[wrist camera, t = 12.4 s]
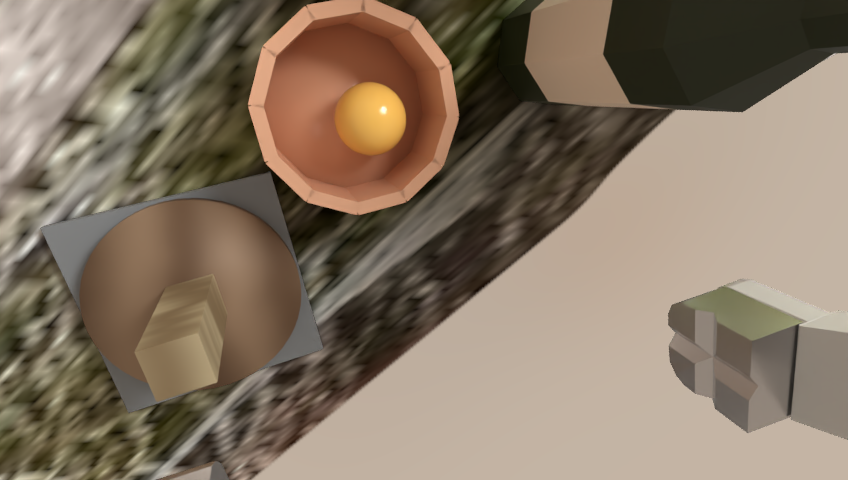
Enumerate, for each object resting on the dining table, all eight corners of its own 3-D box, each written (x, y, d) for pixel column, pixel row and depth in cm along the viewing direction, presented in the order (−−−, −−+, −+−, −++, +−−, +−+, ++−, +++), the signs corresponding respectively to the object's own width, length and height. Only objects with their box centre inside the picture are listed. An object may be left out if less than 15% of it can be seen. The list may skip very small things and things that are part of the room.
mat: (270, 171, 34) (270, 172, 34) (322, 345, 39) (323, 349, 38) (44, 225, 31) (40, 228, 30) (130, 408, 36) (128, 413, 35)
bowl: (408, 0, 34) (437, -18, 28) (440, 171, 38) (470, 184, 32) (228, 32, 31) (221, 19, 26) (282, 212, 35) (286, 234, 30)
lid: (269, 175, 34) (273, 206, 25) (321, 346, 38) (340, 426, 29) (46, 229, 31) (-44, 287, 21) (131, 408, 35) (86, 520, 26)
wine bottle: (476, 73, 37) (1114, 14, 9) (530, -35, 36) (1417, -452, 8) (559, 125, 40) (1215, 198, 13) (611, 28, 39) (1441, -123, 12)
